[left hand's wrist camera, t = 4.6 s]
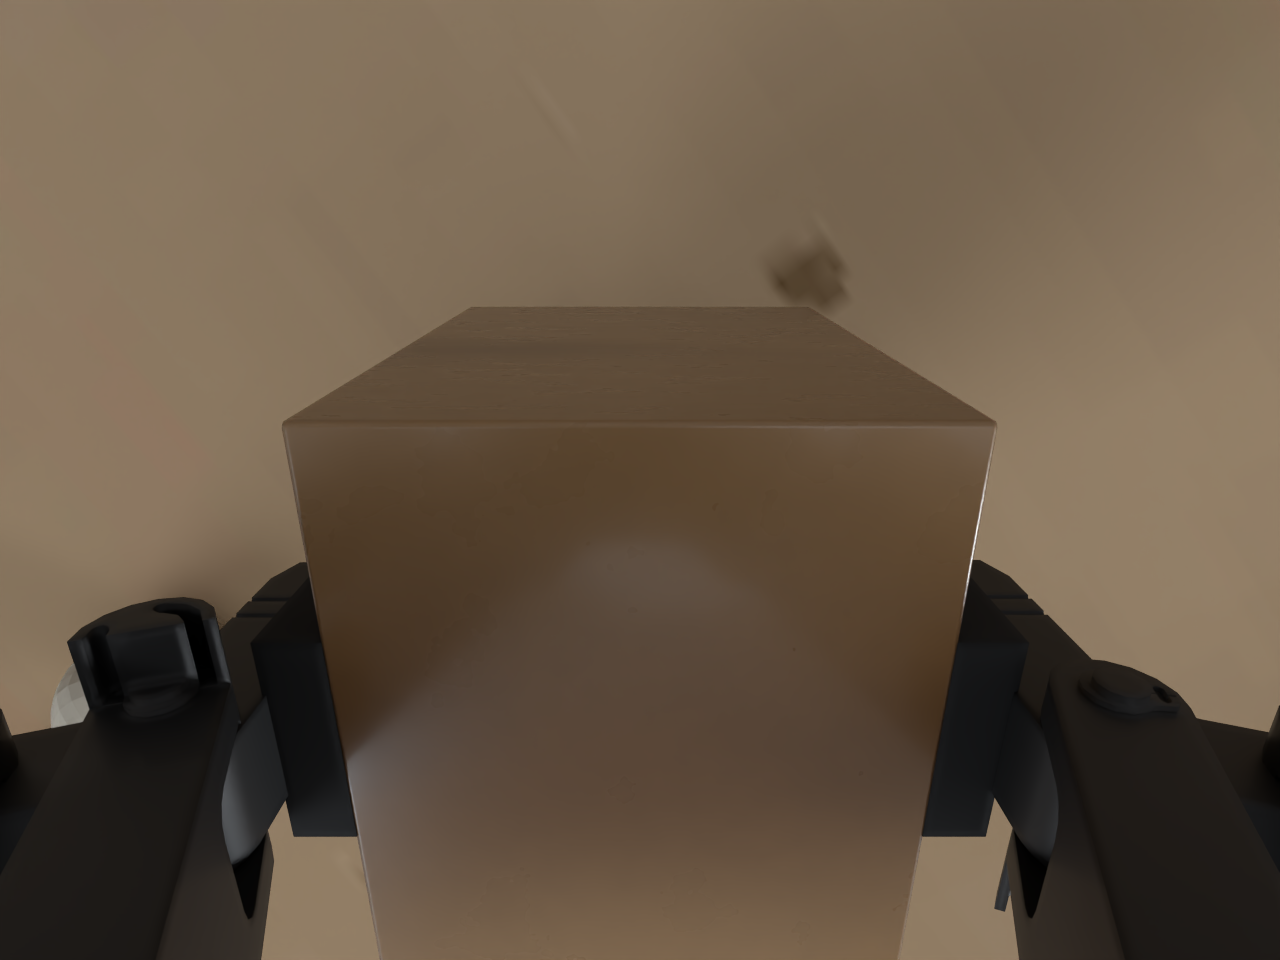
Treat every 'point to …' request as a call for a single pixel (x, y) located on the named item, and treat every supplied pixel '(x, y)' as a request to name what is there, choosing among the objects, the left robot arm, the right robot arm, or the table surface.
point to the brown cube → (639, 629)
